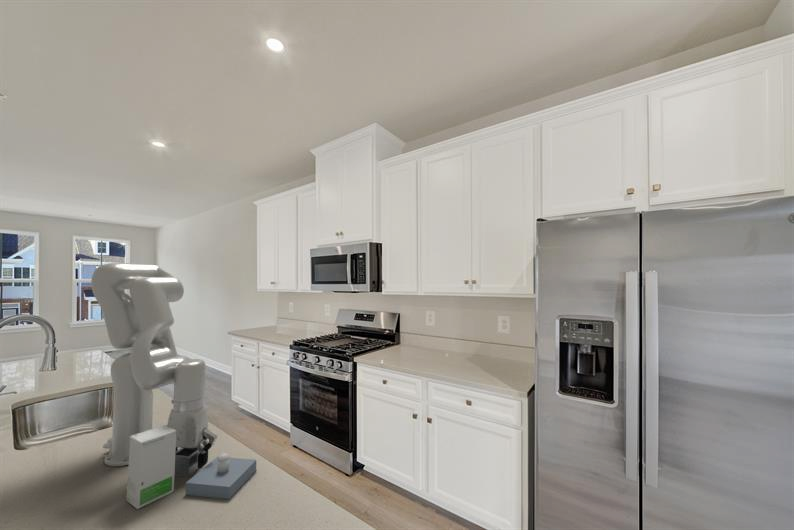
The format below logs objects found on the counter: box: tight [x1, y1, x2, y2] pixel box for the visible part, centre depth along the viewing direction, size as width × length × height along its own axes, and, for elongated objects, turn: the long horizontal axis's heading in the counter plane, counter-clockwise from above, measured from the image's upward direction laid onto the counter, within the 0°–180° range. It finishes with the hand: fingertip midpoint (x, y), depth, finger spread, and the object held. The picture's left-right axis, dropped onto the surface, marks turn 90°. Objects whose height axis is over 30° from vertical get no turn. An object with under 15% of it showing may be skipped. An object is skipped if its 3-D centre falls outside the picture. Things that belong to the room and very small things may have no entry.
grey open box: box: [174, 445, 204, 478], centre depth 93 cm, size 7×7×5 cm
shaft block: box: [185, 452, 257, 500], centre depth 87 cm, size 12×12×7 cm
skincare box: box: [126, 425, 177, 510], centre depth 82 cm, size 8×7×16 cm
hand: (187, 464), depth 93 cm, fingers open, 9 cm apart
